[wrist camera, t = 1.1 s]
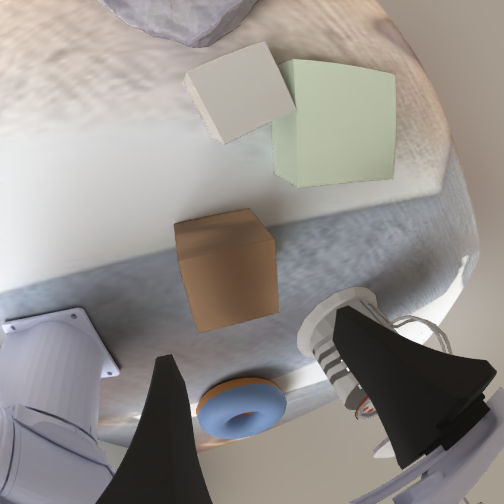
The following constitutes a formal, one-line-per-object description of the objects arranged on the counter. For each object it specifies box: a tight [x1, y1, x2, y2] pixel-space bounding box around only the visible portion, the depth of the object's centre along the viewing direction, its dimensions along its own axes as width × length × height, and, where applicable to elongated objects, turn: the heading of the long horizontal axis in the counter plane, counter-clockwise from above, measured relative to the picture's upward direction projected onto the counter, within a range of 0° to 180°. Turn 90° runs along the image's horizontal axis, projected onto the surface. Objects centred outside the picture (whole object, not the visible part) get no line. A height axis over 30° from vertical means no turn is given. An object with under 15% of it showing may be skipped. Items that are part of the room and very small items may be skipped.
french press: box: [297, 286, 483, 504], centre depth 16 cm, size 10×12×25 cm
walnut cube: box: [174, 208, 279, 333], centre depth 17 cm, size 5×5×5 cm
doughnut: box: [196, 377, 287, 439], centre depth 27 cm, size 10×10×5 cm
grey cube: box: [183, 41, 297, 144], centre depth 13 cm, size 4×4×4 cm
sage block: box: [271, 59, 396, 188], centre depth 15 cm, size 7×7×4 cm
